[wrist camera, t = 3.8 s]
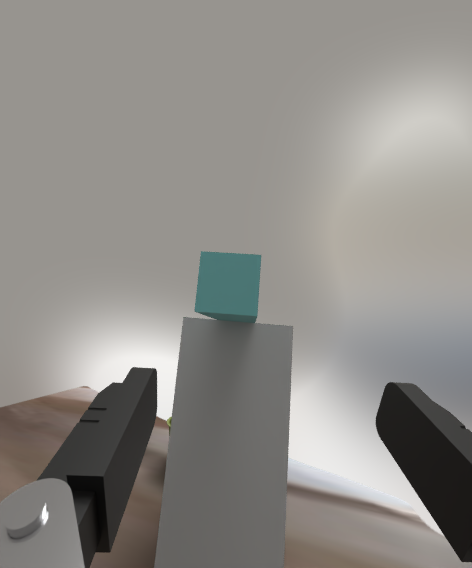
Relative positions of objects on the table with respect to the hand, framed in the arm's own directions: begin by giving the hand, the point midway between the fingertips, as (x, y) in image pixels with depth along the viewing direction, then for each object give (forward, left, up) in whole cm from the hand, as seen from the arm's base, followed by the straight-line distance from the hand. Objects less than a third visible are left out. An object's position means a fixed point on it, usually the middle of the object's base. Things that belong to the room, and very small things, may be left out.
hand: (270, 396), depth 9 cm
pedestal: (-21, -17, -29) cm, 39 cm away
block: (-16, -13, +3) cm, 21 cm away
